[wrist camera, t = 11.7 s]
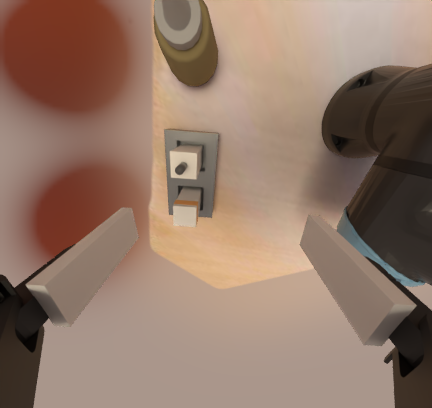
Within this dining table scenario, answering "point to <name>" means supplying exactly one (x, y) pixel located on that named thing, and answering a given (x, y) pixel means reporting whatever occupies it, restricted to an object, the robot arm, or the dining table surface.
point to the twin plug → (186, 161)
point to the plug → (187, 206)
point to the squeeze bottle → (186, 39)
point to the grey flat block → (205, 174)
